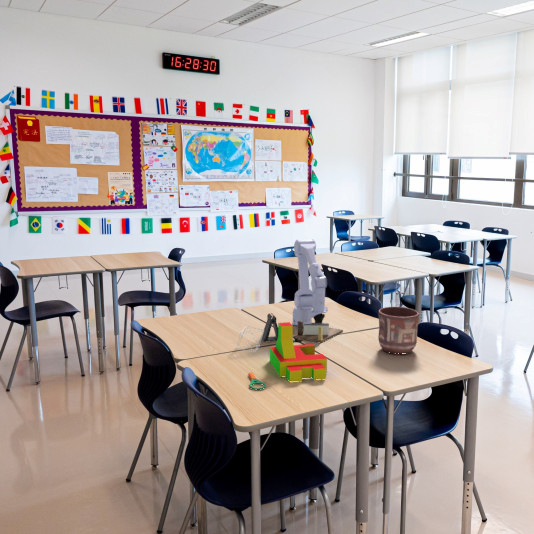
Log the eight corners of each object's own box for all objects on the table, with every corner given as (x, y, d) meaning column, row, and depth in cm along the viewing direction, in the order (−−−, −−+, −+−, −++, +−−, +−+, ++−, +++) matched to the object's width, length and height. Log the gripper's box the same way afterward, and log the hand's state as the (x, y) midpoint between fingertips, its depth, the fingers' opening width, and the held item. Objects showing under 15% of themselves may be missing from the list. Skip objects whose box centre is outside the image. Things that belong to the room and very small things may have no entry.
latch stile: (318, 340, 264) (318, 326, 263) (319, 339, 265) (319, 326, 264) (321, 340, 263) (321, 327, 262) (322, 340, 264) (322, 326, 263)
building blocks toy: (283, 384, 215) (284, 337, 211) (269, 361, 239) (269, 319, 235) (331, 380, 218) (332, 334, 215) (312, 358, 243) (313, 317, 239)
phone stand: (279, 336, 273) (279, 312, 270) (282, 340, 267) (282, 315, 265) (261, 338, 271) (261, 313, 269) (263, 341, 265) (263, 316, 263)
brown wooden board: (293, 337, 271) (293, 322, 270) (316, 327, 289) (316, 312, 288) (320, 343, 263) (321, 327, 261) (342, 331, 281) (343, 317, 279)
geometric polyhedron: (266, 352, 251) (266, 332, 249) (242, 354, 247) (242, 334, 246) (257, 343, 262) (257, 324, 261) (234, 346, 259) (234, 326, 258)
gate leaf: (303, 334, 271) (303, 323, 270) (303, 333, 273) (303, 322, 272) (328, 334, 271) (328, 324, 270) (328, 333, 273) (328, 322, 272)
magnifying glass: (267, 390, 209) (267, 386, 208) (251, 392, 207) (251, 387, 207) (258, 375, 223) (258, 371, 223) (243, 377, 222) (243, 373, 221)
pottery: (368, 350, 253) (370, 311, 249) (390, 341, 265) (392, 304, 261) (403, 360, 240) (405, 319, 237) (424, 350, 253) (427, 311, 249)
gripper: (318, 305, 263) (318, 333, 266) (333, 299, 275) (332, 326, 278) (305, 303, 267) (305, 331, 270) (320, 297, 279) (320, 324, 282)
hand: (318, 328), depth 274 cm, fingers closed, pressing on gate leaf
